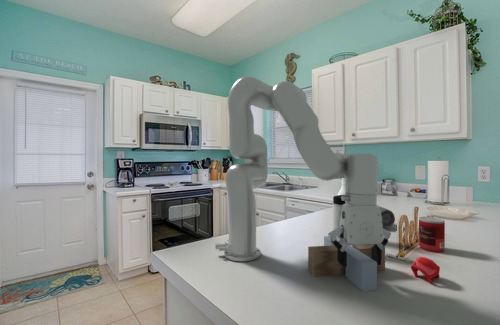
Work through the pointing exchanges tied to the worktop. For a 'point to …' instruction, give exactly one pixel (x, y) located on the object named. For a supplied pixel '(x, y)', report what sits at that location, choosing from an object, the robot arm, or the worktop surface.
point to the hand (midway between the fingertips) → (359, 263)
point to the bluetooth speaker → (387, 217)
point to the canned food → (432, 234)
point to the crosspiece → (359, 267)
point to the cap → (426, 268)
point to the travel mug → (337, 211)
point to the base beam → (334, 260)
